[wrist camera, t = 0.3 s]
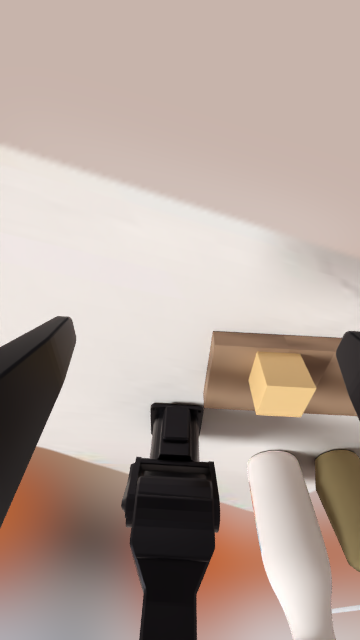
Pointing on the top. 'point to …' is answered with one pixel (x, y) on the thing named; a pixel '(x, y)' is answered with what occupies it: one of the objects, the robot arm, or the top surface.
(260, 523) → the milk bottle
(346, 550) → the squeeze bottle
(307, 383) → the block
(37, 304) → the top surface
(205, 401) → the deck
